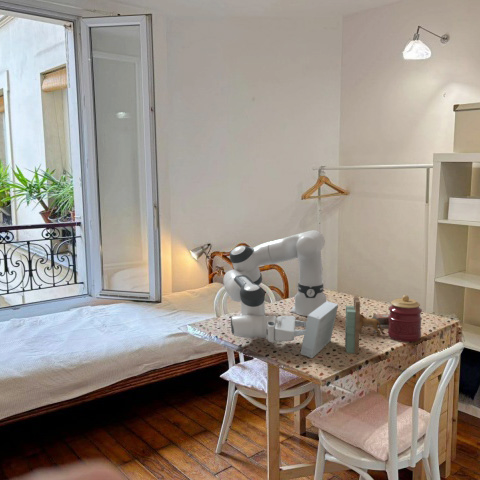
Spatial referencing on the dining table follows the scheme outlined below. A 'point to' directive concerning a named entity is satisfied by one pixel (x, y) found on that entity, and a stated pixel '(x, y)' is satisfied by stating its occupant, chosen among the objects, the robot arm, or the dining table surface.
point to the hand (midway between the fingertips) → (307, 328)
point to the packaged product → (382, 320)
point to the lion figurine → (370, 324)
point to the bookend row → (352, 327)
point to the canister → (405, 320)
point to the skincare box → (319, 329)
